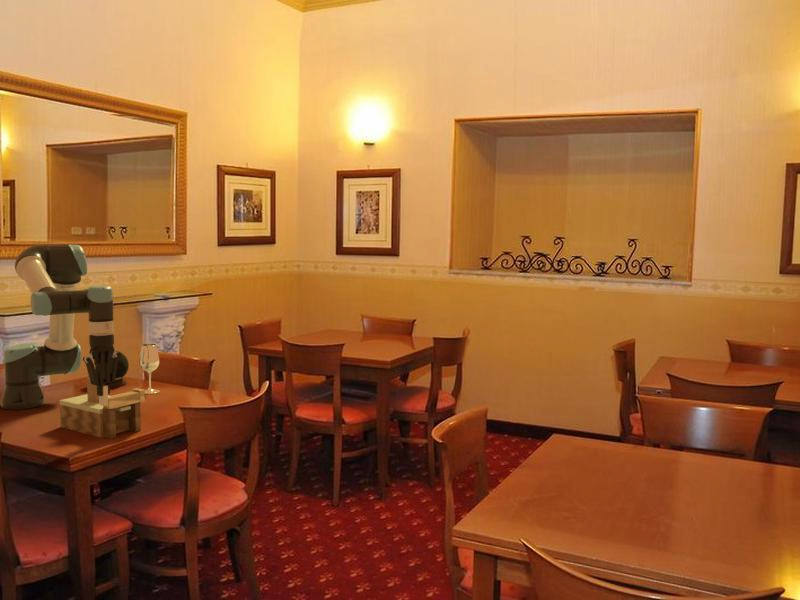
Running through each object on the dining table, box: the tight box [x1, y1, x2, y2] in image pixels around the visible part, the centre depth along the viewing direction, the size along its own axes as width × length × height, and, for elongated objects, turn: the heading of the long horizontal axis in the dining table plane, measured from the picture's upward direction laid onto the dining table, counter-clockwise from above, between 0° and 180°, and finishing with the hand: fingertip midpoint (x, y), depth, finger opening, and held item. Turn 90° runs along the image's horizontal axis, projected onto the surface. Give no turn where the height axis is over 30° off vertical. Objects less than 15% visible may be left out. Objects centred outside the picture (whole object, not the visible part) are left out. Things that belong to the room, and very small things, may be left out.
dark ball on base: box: [110, 350, 130, 389], centre depth 326 cm, size 13×13×15 cm
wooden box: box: [59, 402, 142, 440], centre depth 260 cm, size 26×14×10 cm, turn 58°
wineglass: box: [139, 343, 161, 395], centre depth 313 cm, size 8×8×20 cm
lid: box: [59, 377, 131, 414], centre depth 259 cm, size 26×14×10 cm, turn 58°
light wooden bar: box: [103, 388, 146, 409], centre depth 254 cm, size 4×14×4 cm, turn 148°
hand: (103, 404), depth 247 cm, fingers closed
